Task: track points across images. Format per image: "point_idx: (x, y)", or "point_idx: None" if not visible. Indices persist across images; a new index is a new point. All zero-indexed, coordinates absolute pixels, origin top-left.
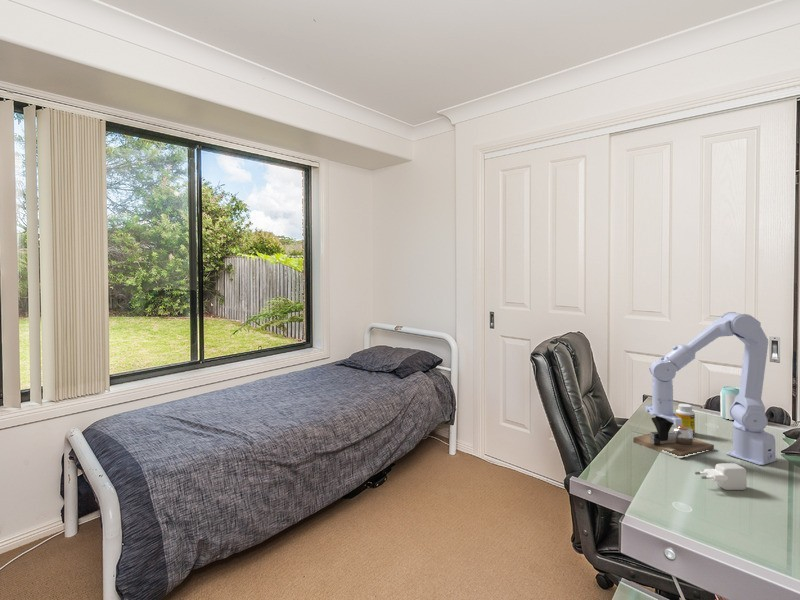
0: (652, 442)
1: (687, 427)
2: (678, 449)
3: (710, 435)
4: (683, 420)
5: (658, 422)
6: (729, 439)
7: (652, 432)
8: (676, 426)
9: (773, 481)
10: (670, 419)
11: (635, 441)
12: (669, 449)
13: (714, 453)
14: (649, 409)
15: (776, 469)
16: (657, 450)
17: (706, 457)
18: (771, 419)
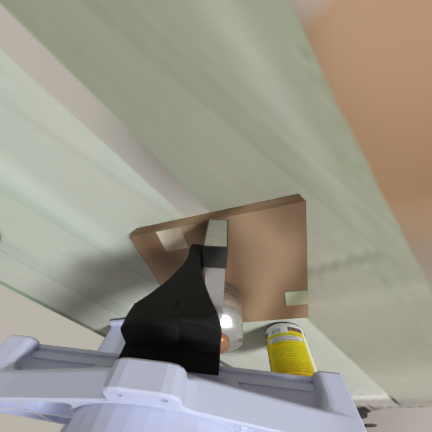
0: (218, 222)
1: None
2: (167, 256)
3: (256, 350)
4: (285, 372)
5: (134, 308)
6: (229, 355)
7: (223, 252)
8: (235, 339)
9: (45, 293)
10: (17, 373)
11: (291, 197)
12: (166, 235)
13: None
14: (274, 421)
15: (100, 324)
16: (203, 214)
17: (149, 282)
18: None
